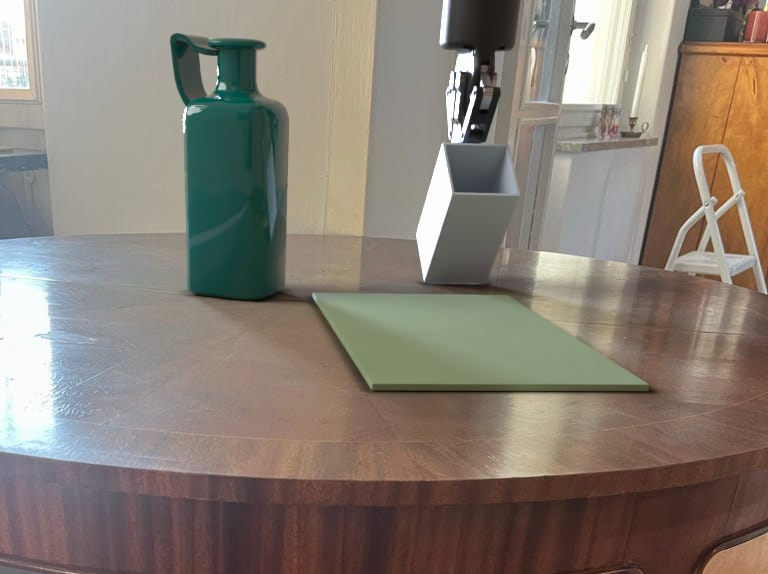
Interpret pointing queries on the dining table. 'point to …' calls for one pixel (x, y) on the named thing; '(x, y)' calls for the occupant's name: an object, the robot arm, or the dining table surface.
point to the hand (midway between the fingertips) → (461, 187)
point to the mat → (464, 345)
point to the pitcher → (232, 172)
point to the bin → (466, 212)
